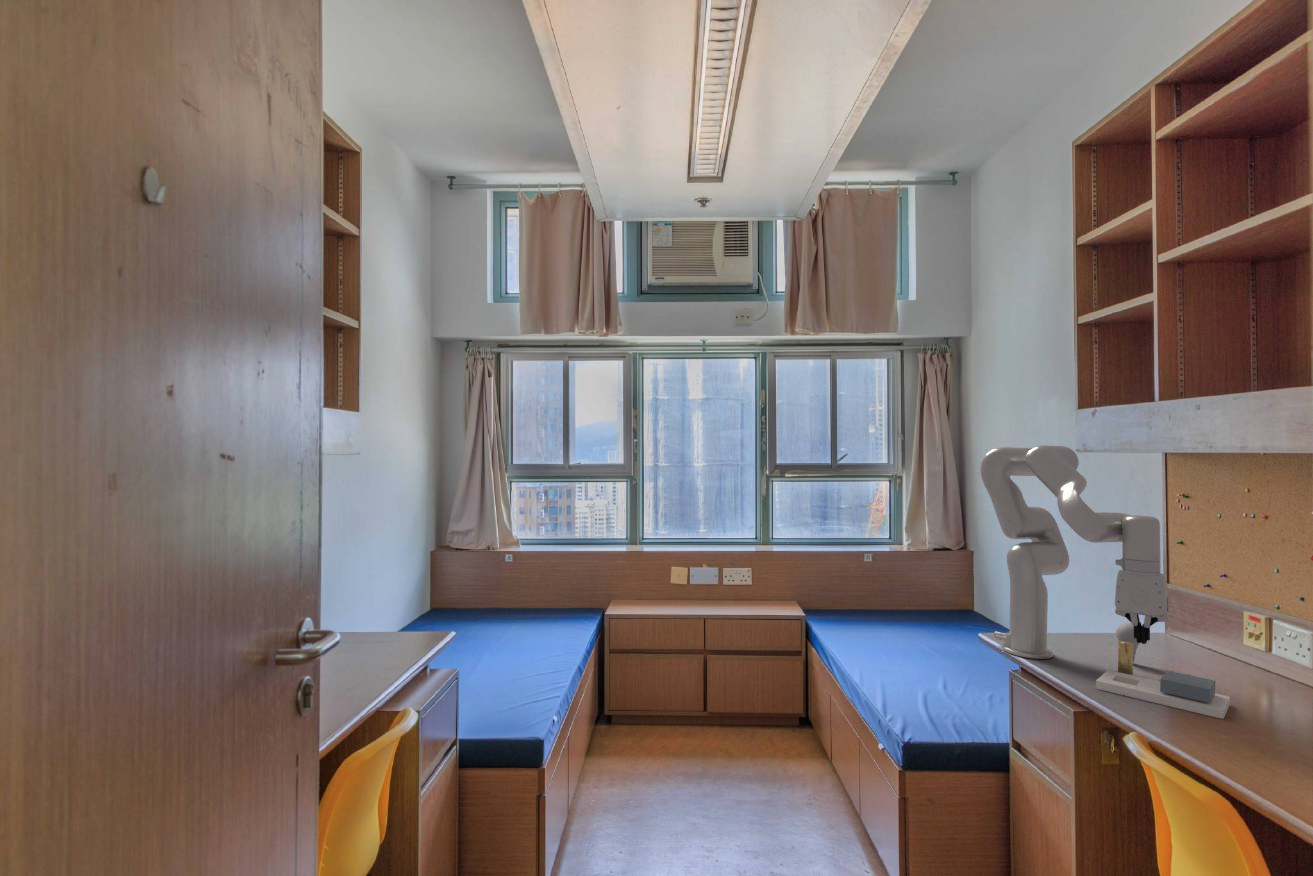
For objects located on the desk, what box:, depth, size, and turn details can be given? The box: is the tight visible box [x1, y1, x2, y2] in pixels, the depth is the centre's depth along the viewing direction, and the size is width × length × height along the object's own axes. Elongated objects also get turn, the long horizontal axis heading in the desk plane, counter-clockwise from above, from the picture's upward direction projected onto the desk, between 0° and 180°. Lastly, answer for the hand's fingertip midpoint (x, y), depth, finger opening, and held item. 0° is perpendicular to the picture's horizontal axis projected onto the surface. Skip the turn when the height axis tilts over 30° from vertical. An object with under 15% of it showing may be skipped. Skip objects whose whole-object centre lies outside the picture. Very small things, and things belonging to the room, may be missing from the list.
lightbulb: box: [1115, 622, 1141, 663], centre depth 185 cm, size 6×6×11 cm
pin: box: [1117, 640, 1134, 676], centre depth 173 cm, size 3×3×9 cm
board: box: [1095, 669, 1231, 720], centre depth 160 cm, size 24×12×2 cm, turn 44°
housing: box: [1159, 670, 1216, 703], centre depth 156 cm, size 9×9×3 cm
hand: (1141, 642), depth 163 cm, fingers closed
